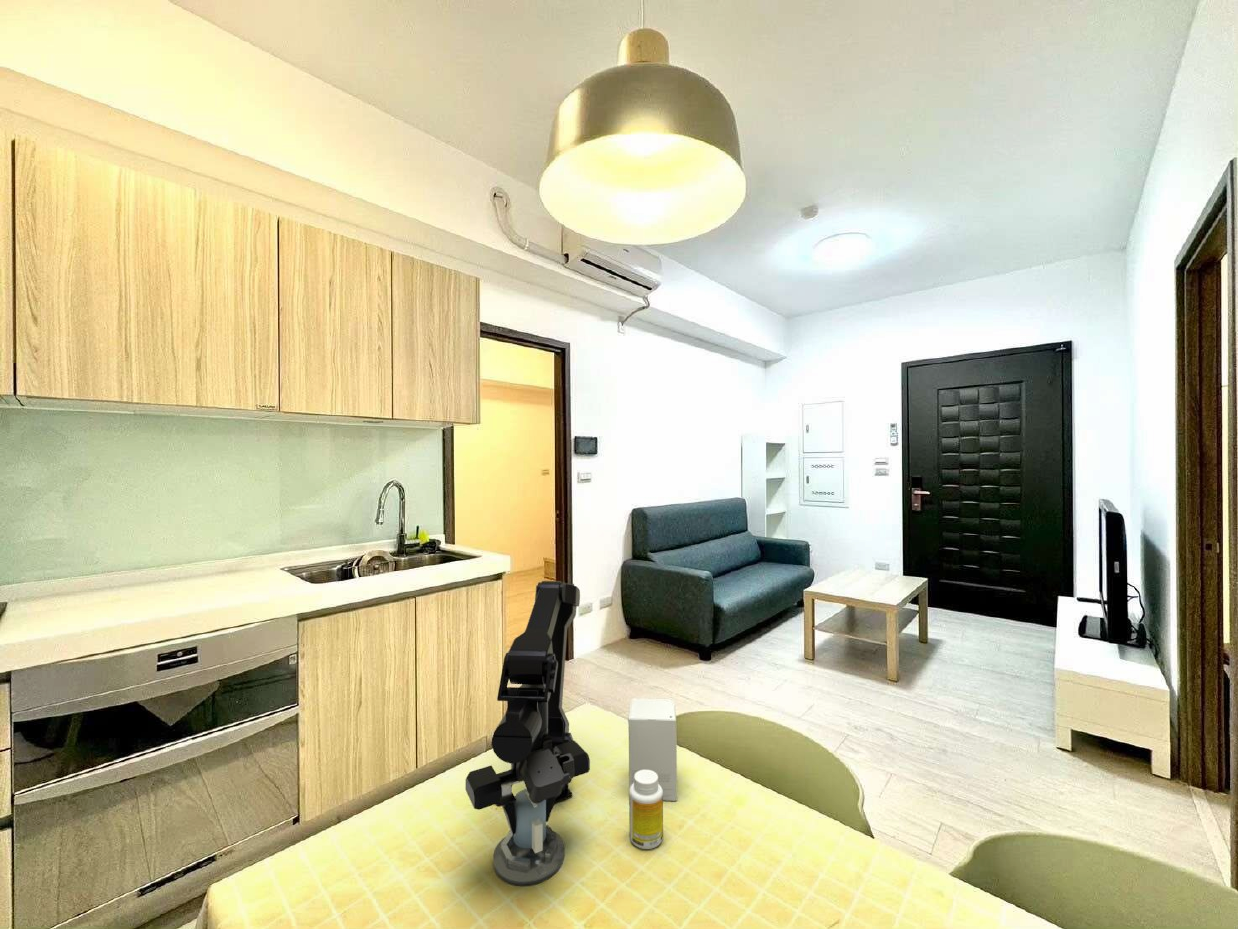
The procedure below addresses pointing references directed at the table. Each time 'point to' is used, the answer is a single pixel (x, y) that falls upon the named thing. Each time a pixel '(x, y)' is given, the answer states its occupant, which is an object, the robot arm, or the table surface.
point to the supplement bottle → (646, 810)
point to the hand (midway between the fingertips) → (529, 826)
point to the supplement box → (654, 742)
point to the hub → (528, 860)
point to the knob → (529, 822)
